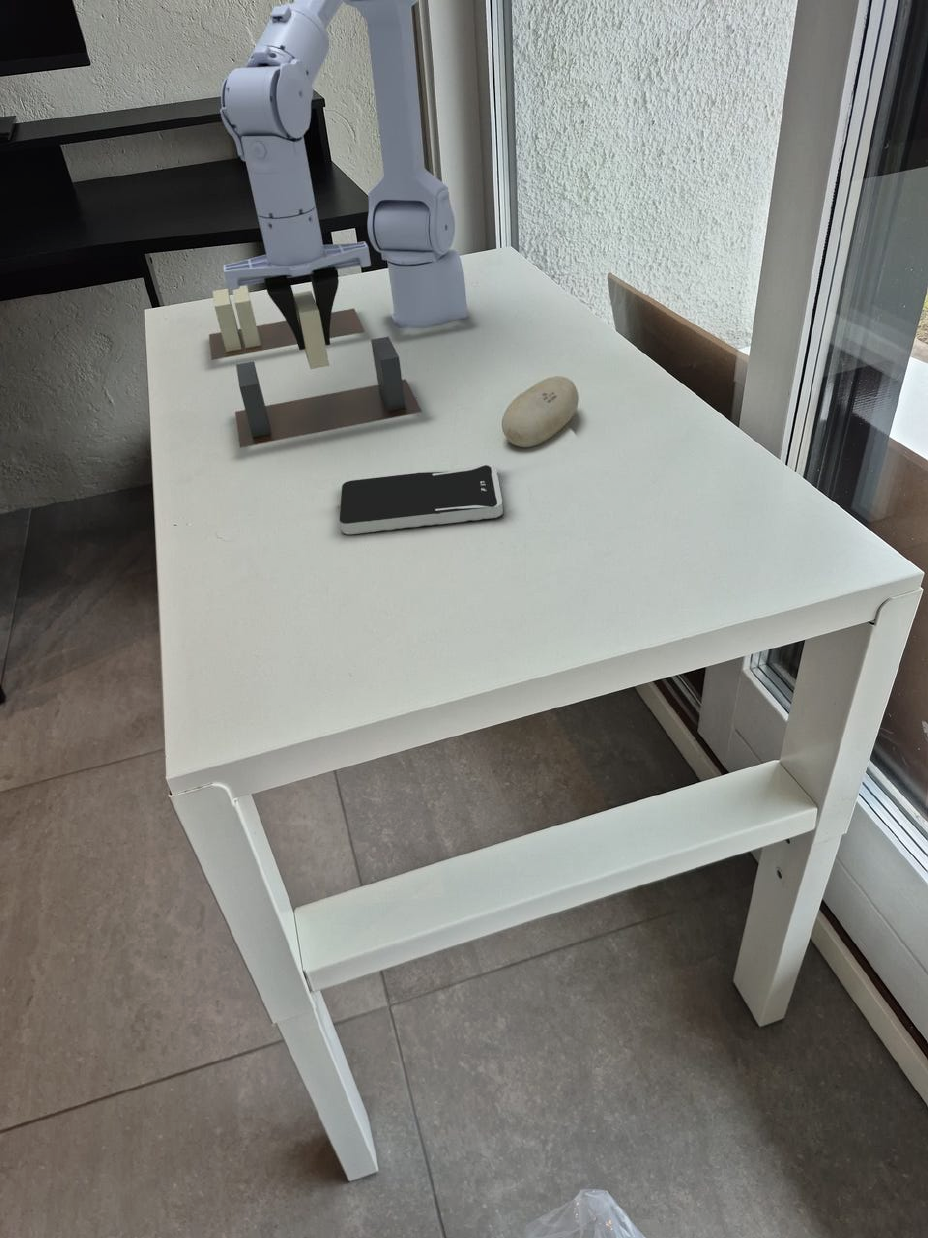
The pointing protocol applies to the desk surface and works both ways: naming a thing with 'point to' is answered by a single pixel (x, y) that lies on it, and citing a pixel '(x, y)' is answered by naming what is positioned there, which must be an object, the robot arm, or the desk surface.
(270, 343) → the shelf
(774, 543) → the desk surface
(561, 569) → the desk surface
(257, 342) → the cream books
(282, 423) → the shelf
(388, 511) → the smartphone
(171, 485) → the desk surface
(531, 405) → the stone
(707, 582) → the desk surface
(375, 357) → the grey books
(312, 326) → the cream book
